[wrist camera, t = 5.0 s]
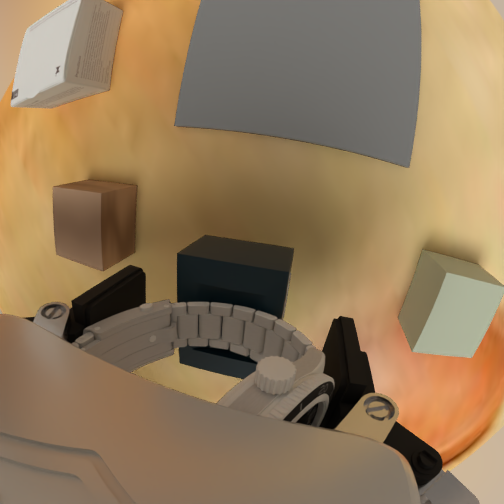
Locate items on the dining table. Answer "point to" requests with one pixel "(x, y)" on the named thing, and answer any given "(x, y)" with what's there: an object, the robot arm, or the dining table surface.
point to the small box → (67, 54)
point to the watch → (226, 330)
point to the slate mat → (307, 72)
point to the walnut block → (95, 222)
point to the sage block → (449, 306)
